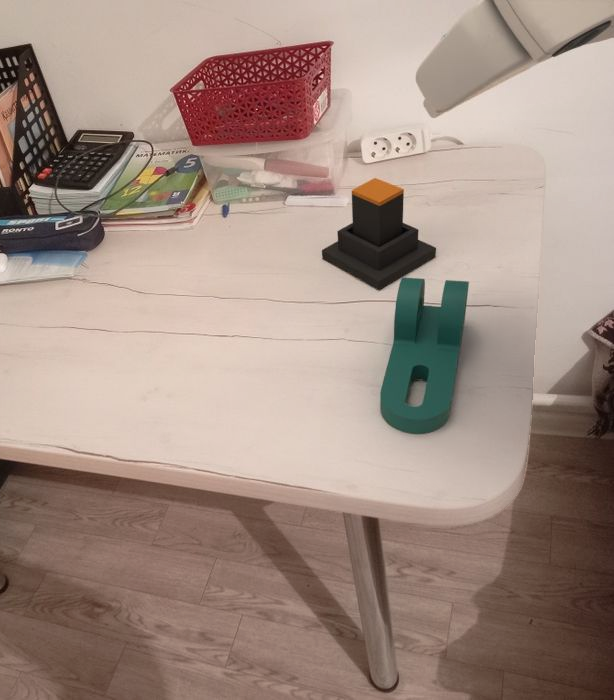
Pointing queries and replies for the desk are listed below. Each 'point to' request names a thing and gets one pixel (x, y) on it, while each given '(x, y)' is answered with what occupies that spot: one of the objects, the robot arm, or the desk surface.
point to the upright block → (377, 212)
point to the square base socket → (378, 256)
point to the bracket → (423, 356)
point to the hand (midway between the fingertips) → (474, 86)
